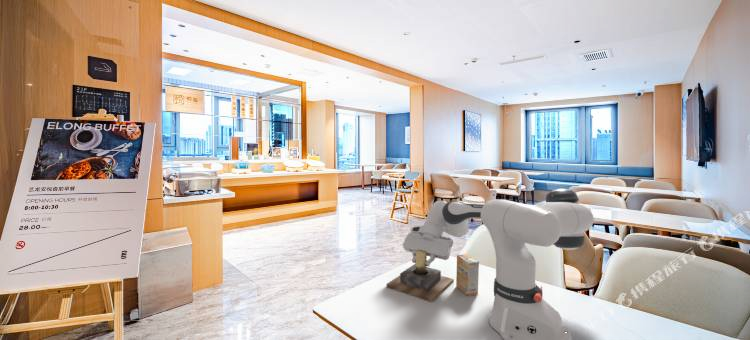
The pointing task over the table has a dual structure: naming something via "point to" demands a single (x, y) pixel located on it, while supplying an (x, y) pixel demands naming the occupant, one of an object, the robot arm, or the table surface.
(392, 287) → the socket board
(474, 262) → the supplement box
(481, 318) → the table surface
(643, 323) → the table surface
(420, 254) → the brass plug
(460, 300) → the table surface
